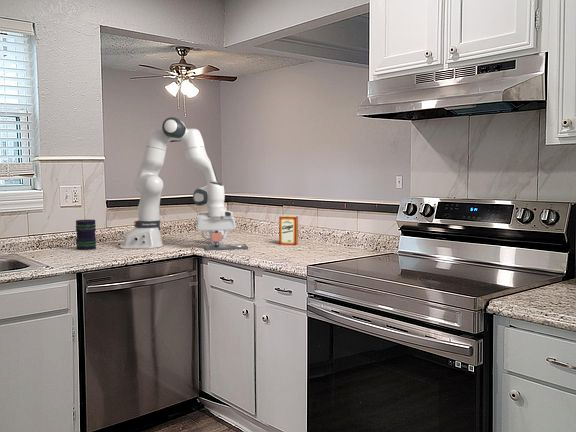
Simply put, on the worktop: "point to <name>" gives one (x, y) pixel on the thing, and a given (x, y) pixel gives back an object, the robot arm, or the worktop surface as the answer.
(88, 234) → the storage jar
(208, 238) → the mug
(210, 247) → the base
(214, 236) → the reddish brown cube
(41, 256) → the worktop surface
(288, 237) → the baking soda box
